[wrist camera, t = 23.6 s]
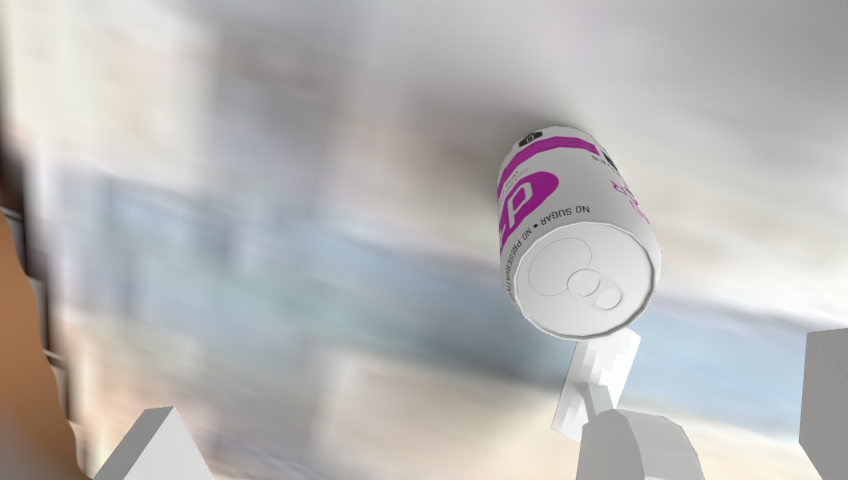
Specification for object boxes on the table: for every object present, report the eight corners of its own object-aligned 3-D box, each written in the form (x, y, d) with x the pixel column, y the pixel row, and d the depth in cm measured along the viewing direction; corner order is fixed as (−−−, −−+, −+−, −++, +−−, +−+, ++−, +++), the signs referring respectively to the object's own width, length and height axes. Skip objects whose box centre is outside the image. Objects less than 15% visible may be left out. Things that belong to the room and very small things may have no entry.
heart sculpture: (599, 451, 53) (647, 665, 37) (546, 443, 53) (571, 652, 37) (648, 318, 46) (734, 512, 30) (587, 308, 46) (640, 496, 30)
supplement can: (475, 191, 42) (469, 300, 29) (543, 100, 39) (572, 177, 26) (561, 247, 44) (593, 375, 31) (634, 163, 40) (707, 267, 27)
